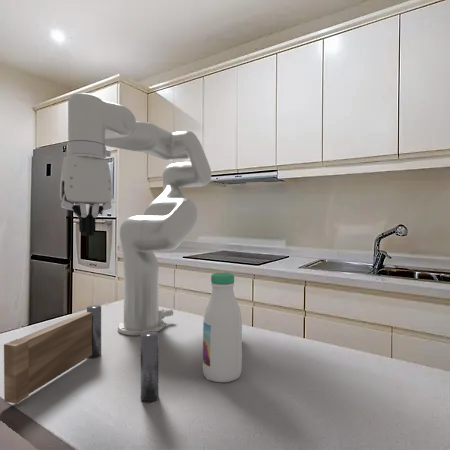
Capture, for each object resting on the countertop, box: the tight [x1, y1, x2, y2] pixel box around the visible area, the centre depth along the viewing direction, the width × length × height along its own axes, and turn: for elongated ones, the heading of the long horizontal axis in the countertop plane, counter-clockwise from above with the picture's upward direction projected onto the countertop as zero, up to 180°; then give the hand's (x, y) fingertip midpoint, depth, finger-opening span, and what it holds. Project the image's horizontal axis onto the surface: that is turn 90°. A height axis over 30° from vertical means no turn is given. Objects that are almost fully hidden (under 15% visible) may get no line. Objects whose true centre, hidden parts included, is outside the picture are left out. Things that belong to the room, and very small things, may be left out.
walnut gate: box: [3, 311, 92, 405], centre depth 62 cm, size 2×19×9 cm, turn 165°
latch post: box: [140, 331, 159, 403], centre depth 56 cm, size 3×3×11 cm
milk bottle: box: [202, 272, 243, 383], centre depth 64 cm, size 8×8×20 cm
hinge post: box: [86, 304, 102, 359], centre depth 73 cm, size 3×3×11 cm
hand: (87, 235), depth 72 cm, fingers closed
